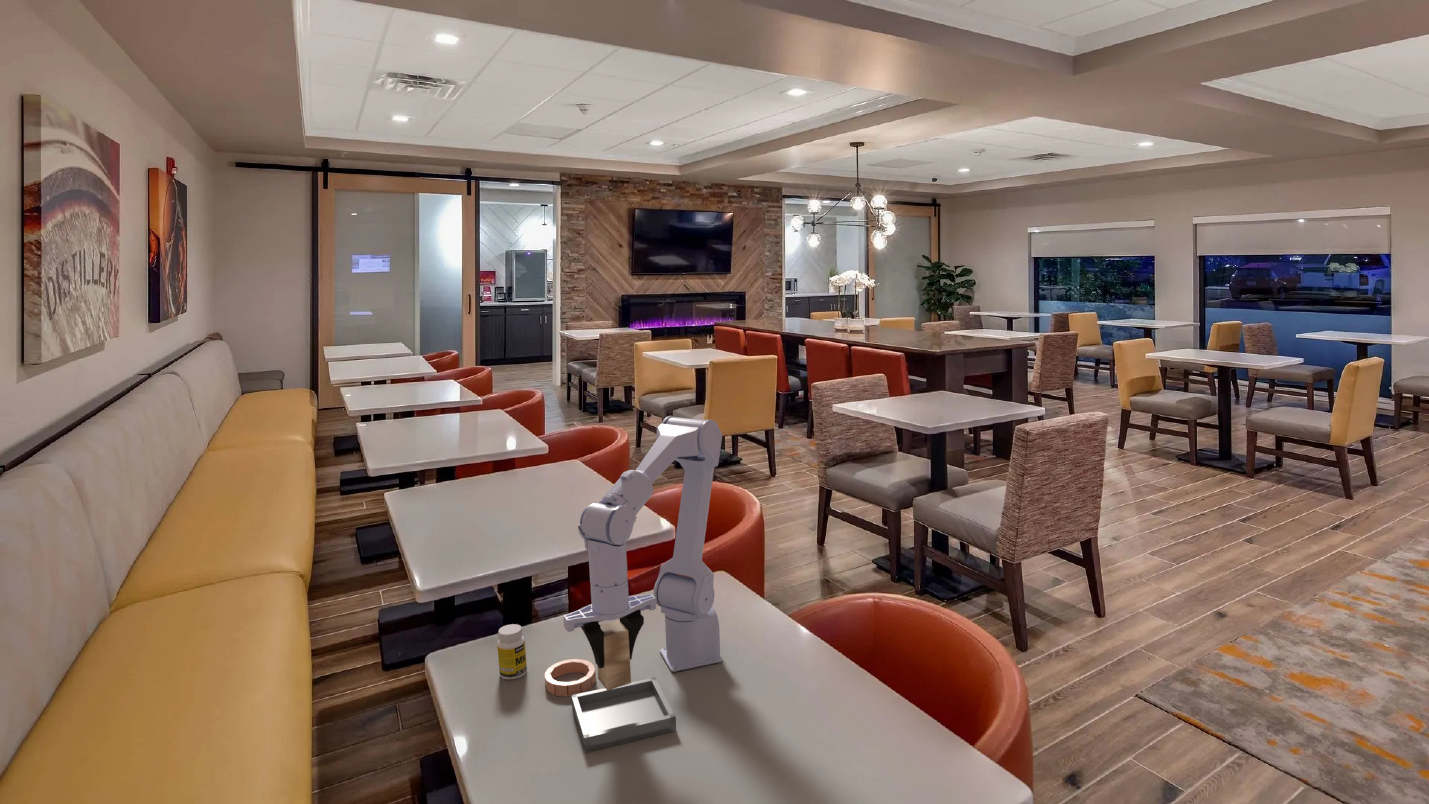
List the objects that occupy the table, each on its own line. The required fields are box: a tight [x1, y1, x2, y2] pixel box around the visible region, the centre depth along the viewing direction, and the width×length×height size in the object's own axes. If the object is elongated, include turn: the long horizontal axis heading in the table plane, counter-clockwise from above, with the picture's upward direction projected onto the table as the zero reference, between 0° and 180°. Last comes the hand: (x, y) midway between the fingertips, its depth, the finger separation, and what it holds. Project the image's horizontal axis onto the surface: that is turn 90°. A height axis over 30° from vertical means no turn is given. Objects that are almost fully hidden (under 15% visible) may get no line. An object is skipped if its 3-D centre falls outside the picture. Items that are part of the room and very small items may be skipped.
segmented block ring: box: [544, 658, 597, 697], centre depth 129 cm, size 8×8×2 cm
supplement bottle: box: [496, 623, 528, 680], centre depth 132 cm, size 5×5×8 cm
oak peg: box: [596, 619, 632, 691], centre depth 117 cm, size 4×4×9 cm
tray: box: [570, 677, 677, 753], centre depth 118 cm, size 14×12×2 cm
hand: (613, 661), depth 117 cm, fingers closed on oak peg, 4 cm apart
